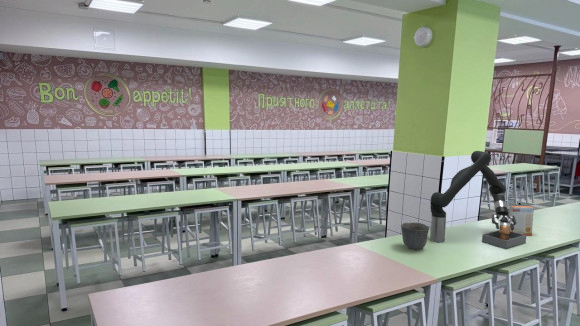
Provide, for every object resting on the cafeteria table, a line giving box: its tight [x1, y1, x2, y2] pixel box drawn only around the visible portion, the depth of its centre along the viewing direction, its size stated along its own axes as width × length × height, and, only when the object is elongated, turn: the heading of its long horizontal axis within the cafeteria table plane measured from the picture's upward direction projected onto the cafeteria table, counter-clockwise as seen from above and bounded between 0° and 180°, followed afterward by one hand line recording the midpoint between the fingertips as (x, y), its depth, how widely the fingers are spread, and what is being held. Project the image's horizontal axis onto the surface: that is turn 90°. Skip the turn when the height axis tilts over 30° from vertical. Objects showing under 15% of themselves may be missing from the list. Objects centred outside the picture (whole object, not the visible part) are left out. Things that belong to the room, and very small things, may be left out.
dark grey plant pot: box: [400, 222, 431, 250], centre depth 229 cm, size 18×18×15 cm
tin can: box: [498, 221, 510, 240], centre depth 241 cm, size 6×6×13 cm
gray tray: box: [481, 229, 527, 250], centre depth 241 cm, size 24×16×6 cm, turn 120°
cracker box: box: [508, 205, 534, 237], centre depth 258 cm, size 14×6×21 cm, turn 84°
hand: (505, 229), depth 239 cm, fingers open, 8 cm apart
